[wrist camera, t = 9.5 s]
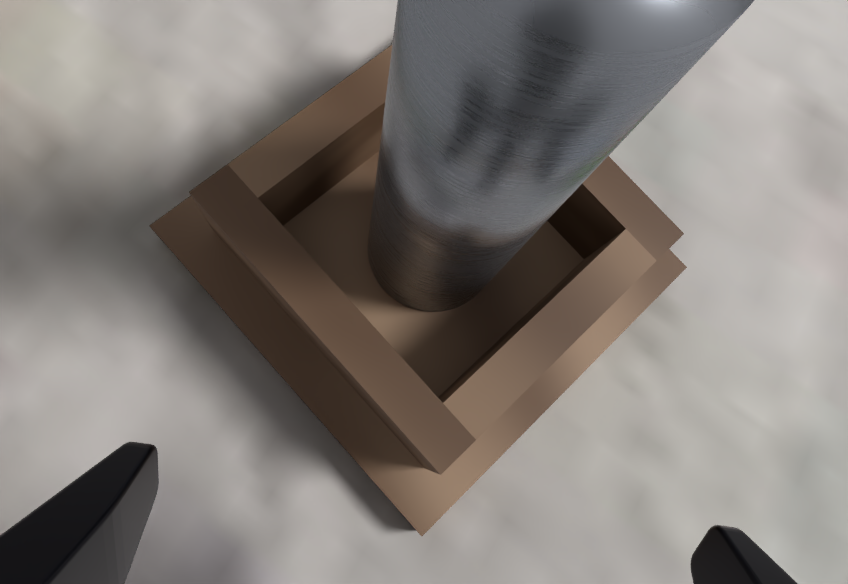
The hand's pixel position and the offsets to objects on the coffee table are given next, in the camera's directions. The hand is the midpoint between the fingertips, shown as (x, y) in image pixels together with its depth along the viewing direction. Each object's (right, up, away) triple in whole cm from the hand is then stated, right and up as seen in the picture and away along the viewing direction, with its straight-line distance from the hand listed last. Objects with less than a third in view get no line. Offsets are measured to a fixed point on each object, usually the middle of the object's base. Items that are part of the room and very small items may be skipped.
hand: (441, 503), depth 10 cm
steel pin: (0, +5, +9) cm, 10 cm away
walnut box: (0, +5, +10) cm, 11 cm away
